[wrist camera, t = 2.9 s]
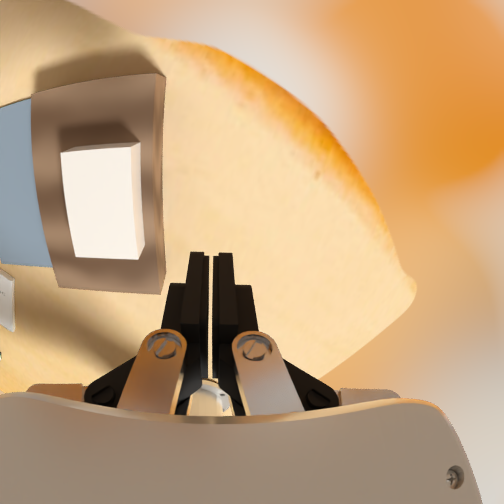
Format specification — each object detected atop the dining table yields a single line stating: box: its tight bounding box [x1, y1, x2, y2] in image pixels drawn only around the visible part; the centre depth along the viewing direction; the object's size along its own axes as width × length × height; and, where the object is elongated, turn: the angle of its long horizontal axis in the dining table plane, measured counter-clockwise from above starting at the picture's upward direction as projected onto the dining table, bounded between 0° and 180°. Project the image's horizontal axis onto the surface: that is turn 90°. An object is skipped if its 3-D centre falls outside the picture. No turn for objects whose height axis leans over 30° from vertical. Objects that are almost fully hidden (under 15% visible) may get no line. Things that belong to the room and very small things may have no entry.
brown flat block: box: [31, 73, 166, 295], centre depth 22 cm, size 20×12×4 cm, turn 174°
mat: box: [0, 98, 53, 267], centre depth 22 cm, size 20×13×1 cm, turn 174°
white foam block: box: [61, 142, 145, 260], centre depth 20 cm, size 9×6×2 cm, turn 174°
